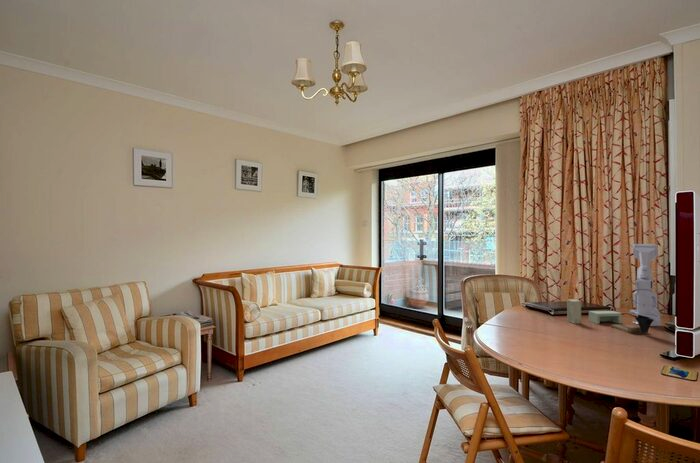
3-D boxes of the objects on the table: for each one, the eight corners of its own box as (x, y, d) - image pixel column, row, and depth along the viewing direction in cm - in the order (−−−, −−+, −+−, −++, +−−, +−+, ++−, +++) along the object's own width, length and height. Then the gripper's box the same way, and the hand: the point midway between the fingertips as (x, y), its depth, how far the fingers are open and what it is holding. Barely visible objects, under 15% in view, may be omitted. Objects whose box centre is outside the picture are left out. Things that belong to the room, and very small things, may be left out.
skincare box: (581, 323, 192) (581, 301, 192) (573, 323, 192) (573, 301, 192) (574, 320, 199) (574, 299, 199) (566, 320, 199) (566, 299, 199)
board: (627, 327, 186) (627, 321, 186) (647, 333, 174) (647, 327, 174) (610, 327, 186) (610, 321, 186) (630, 334, 174) (630, 327, 174)
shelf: (612, 320, 199) (612, 310, 199) (621, 323, 193) (621, 313, 193) (588, 321, 198) (588, 311, 198) (596, 323, 192) (596, 313, 192)
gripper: (623, 301, 178) (623, 328, 178) (650, 307, 164) (650, 336, 164) (637, 300, 179) (637, 327, 179) (664, 307, 164) (664, 336, 164)
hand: (644, 332), depth 171 cm, fingers closed
